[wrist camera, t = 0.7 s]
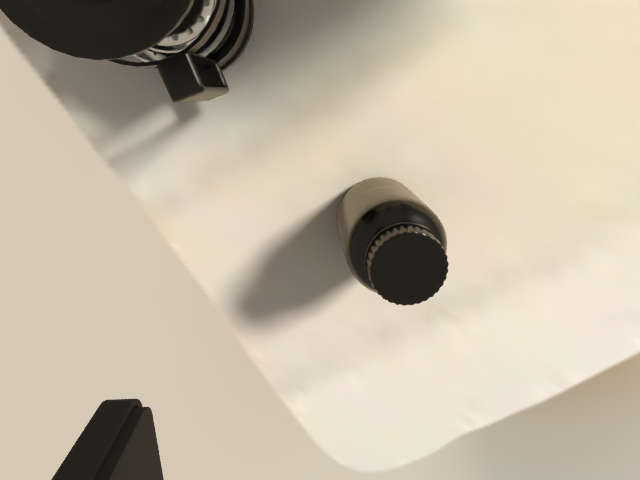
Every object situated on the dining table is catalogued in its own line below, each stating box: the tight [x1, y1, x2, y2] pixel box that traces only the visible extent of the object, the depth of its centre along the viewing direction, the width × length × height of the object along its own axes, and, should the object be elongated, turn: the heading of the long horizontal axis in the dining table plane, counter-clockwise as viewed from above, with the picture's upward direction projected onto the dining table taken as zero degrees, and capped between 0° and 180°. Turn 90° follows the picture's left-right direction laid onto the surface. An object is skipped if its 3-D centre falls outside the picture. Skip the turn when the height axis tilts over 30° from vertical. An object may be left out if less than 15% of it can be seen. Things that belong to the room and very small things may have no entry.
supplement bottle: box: [337, 177, 448, 305], centre depth 33 cm, size 7×7×12 cm
